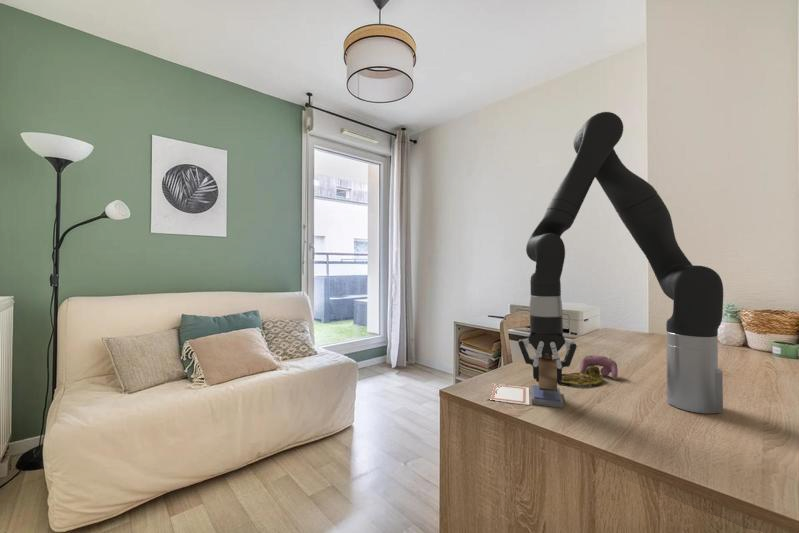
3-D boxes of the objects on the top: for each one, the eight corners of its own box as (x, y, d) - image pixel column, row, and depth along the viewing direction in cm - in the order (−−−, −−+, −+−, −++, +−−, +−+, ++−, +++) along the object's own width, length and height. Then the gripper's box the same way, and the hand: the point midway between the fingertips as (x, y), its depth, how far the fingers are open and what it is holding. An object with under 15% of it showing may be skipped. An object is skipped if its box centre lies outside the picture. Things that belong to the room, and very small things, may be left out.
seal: (572, 395, 92) (613, 387, 97) (573, 378, 91) (614, 371, 96) (546, 380, 101) (585, 374, 105) (547, 365, 100) (587, 359, 105)
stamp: (555, 383, 88) (554, 352, 88) (557, 391, 82) (556, 358, 82) (538, 381, 89) (537, 351, 89) (539, 389, 84) (538, 357, 84)
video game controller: (617, 382, 102) (617, 359, 104) (617, 379, 98) (617, 355, 101) (580, 377, 107) (581, 355, 110) (579, 374, 104) (580, 351, 106)
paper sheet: (529, 388, 93) (529, 387, 93) (529, 405, 82) (529, 404, 82) (491, 384, 97) (491, 383, 97) (486, 400, 85) (486, 398, 85)
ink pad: (559, 393, 90) (559, 386, 90) (563, 407, 80) (563, 401, 80) (531, 389, 92) (530, 383, 92) (531, 404, 83) (531, 397, 83)
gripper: (575, 312, 87) (576, 379, 87) (516, 310, 92) (517, 374, 92) (579, 316, 80) (581, 389, 80) (515, 314, 85) (517, 383, 85)
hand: (547, 381), depth 86 cm, fingers closed on stamp, 4 cm apart
